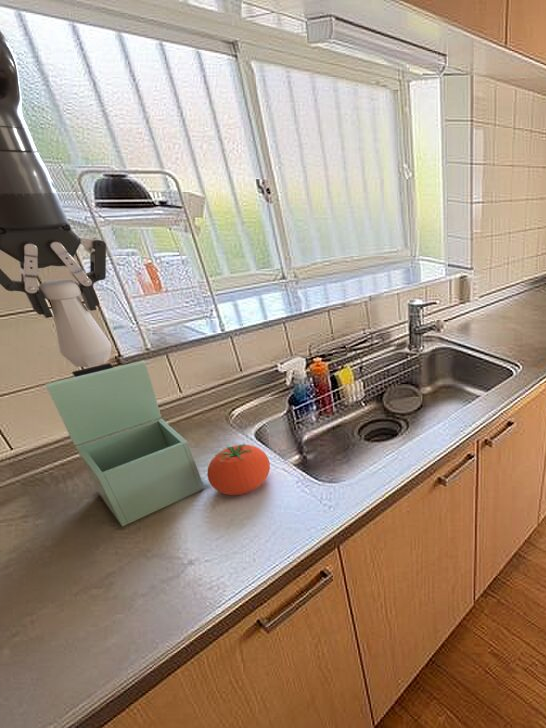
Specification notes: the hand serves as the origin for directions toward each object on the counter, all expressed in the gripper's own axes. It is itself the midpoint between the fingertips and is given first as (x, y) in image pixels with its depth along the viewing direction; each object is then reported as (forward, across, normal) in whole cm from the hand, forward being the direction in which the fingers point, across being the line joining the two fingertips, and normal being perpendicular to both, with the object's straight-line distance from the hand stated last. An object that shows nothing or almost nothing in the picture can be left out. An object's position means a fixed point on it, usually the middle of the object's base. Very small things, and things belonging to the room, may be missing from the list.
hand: (70, 312), depth 63 cm
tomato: (+37, -12, +11) cm, 40 cm away
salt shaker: (+8, 0, 0) cm, 8 cm away
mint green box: (+36, 0, 0) cm, 36 cm away
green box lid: (+18, -1, -4) cm, 18 cm away
